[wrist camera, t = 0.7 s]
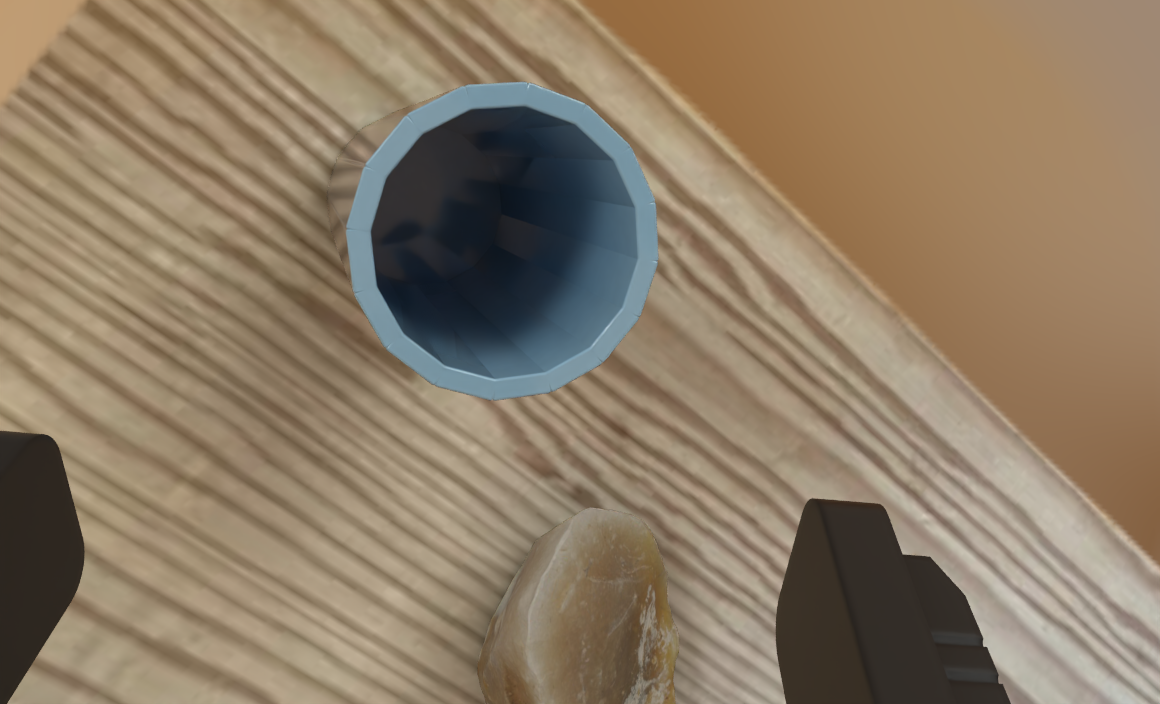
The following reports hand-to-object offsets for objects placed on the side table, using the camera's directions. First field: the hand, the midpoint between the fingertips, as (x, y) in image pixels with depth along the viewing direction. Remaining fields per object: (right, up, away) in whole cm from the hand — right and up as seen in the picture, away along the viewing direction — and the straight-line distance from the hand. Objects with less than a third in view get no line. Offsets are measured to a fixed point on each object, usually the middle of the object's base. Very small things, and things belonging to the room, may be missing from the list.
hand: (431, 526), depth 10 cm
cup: (-3, +6, +18) cm, 20 cm away
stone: (+2, -10, +23) cm, 25 cm away
